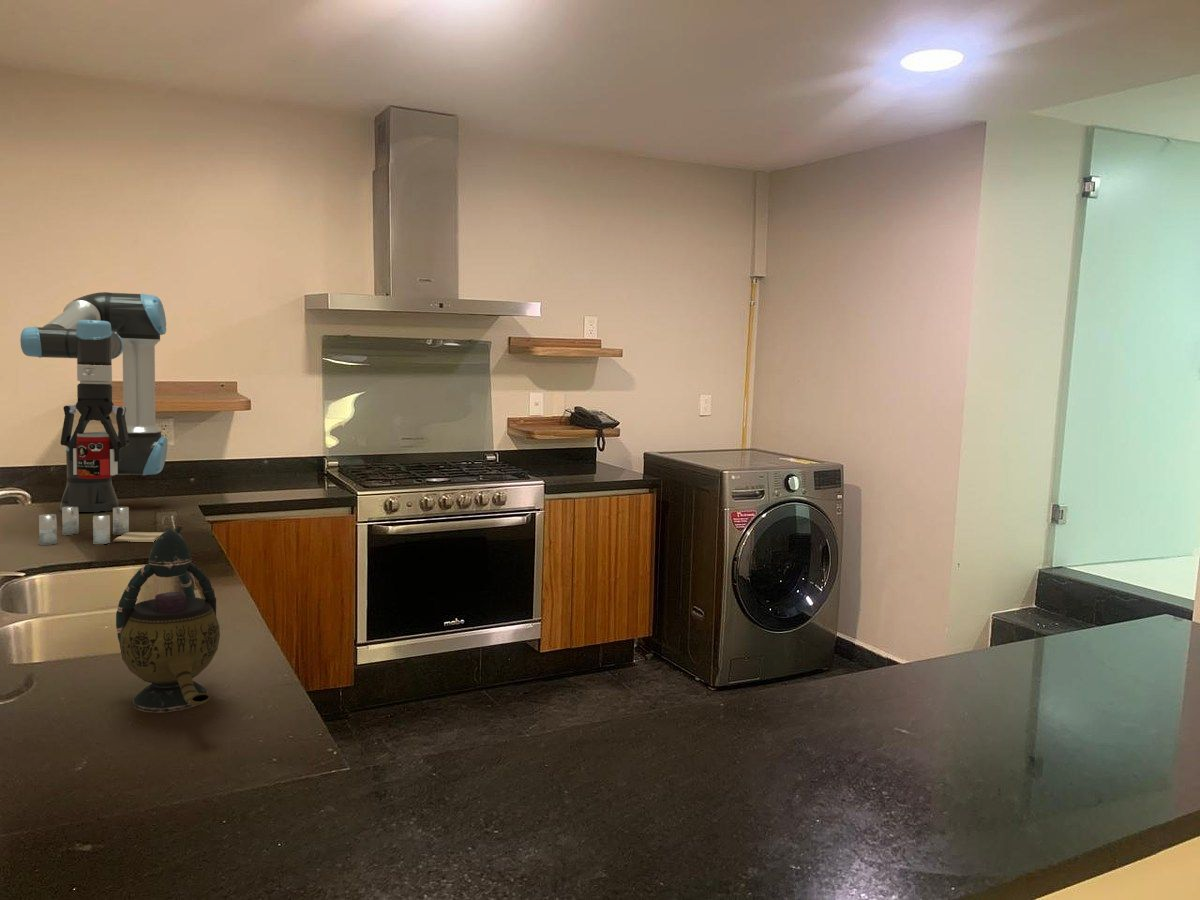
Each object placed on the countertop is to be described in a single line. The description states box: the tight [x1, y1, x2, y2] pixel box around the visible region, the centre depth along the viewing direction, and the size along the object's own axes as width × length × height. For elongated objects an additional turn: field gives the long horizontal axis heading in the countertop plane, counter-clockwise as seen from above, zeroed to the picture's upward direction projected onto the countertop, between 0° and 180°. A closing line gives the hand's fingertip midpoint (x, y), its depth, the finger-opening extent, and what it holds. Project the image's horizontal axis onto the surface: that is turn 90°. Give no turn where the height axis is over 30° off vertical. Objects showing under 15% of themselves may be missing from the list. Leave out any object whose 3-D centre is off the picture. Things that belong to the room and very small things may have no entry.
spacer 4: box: [112, 506, 130, 535], centre depth 230 cm, size 4×4×7 cm
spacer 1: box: [38, 513, 58, 546], centre depth 215 cm, size 4×4×7 cm
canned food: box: [77, 431, 114, 479], centre depth 222 cm, size 8×8×11 cm
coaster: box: [113, 531, 165, 543], centre depth 225 cm, size 10×9×1 cm
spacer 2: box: [61, 506, 80, 536], centre depth 228 cm, size 4×4×7 cm
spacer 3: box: [92, 514, 111, 544], centre depth 217 cm, size 4×4×7 cm
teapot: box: [115, 526, 221, 713], centre depth 115 cm, size 12×25×23 cm, turn 37°
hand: (95, 474), depth 222 cm, fingers closed on canned food, 8 cm apart
